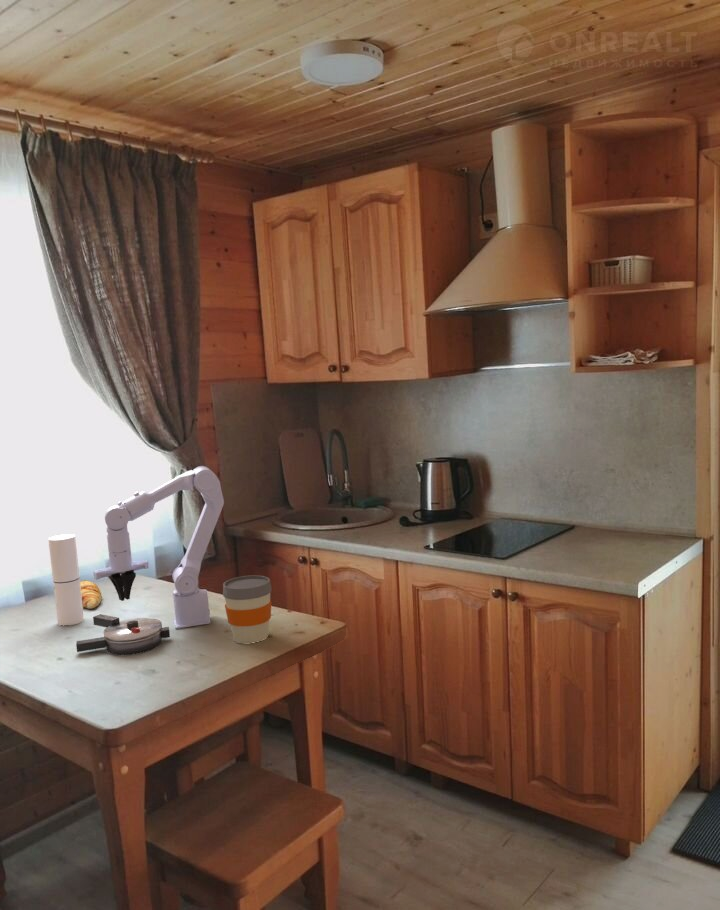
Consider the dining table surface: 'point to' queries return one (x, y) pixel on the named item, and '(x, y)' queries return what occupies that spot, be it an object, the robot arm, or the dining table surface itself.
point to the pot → (124, 644)
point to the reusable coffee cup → (248, 607)
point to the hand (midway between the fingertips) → (124, 599)
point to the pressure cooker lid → (127, 628)
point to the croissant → (90, 594)
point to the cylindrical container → (66, 579)
